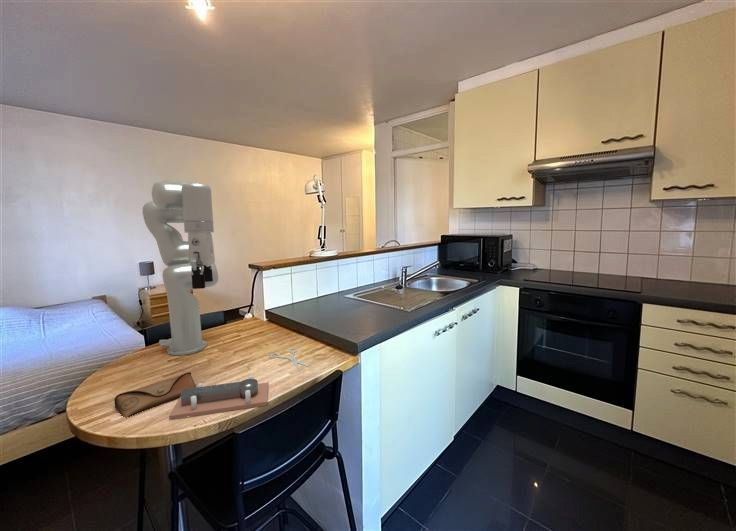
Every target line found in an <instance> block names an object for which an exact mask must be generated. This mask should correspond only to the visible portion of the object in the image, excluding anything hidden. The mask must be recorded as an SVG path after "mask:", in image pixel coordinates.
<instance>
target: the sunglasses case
mask: <svg viewBox="0 0 736 531" xmlns="http://www.w3.org/2000/svg"><path fill="white" fill-rule="evenodd" d="M196 387H197V385H196V383H195V381H194V379H193V376H192V372H185V373H182V374H181V375H177V376H174V377H171V378H167V379H164V380H161V381H158V382H155V383H151V384H148V385H146V386H143V387H140V388H136V389H133V390H130V391H125V392H121V393H118V394H117V395H115V398H114V401H113V402H114V408H115V409H116V411H117V410H118V411H119V412H118V411H117V412H118V413H120V414H121V415H120V414H119V415H120V417H121V416H123V417H125V418H126V419H128V418H127V417H129V418H131V417H133V416H135V414H136V415H137V413H138V414H140V412H141V413H143V412H145V410H146V411H148V410H151V409H154V408H156V407H159V406H162V405H164V403H165V404H167V403H170V402H173V401H175V400H179V398H180V396H181V394H182V392H183V390H184V389H189V388H196ZM161 404H162V405H161ZM153 407H154V408H153ZM150 408H151V409H150ZM147 409H148V410H147ZM142 411H143V412H142ZM132 415H133V416H132ZM130 416H131V417H130Z"/></svg>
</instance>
